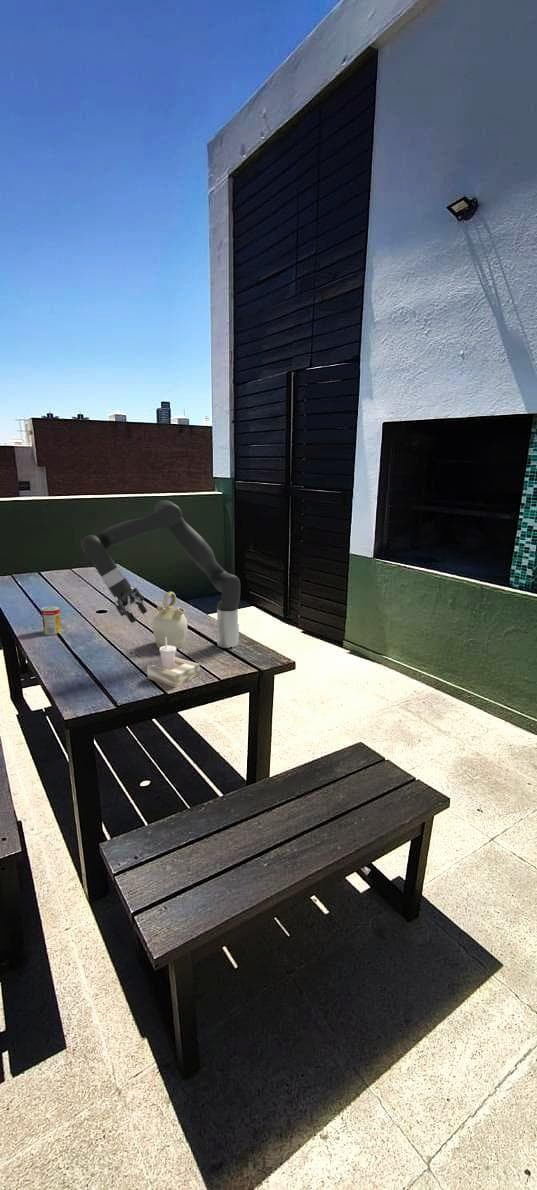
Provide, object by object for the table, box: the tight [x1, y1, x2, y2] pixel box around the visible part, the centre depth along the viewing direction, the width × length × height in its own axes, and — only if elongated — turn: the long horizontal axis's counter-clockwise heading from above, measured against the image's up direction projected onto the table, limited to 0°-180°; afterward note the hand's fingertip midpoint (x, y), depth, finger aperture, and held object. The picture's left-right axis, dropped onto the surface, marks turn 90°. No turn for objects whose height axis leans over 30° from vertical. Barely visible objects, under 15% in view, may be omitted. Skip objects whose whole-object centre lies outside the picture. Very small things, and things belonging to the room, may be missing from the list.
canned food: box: [41, 605, 63, 636], centre depth 232 cm, size 8×8×12 cm
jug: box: [151, 591, 188, 650], centre depth 218 cm, size 15×16×25 cm
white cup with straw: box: [159, 637, 177, 670], centre depth 187 cm, size 6×6×14 cm
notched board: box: [146, 656, 201, 688], centre depth 187 cm, size 14×14×4 cm
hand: (139, 617), depth 189 cm, fingers open, 8 cm apart
